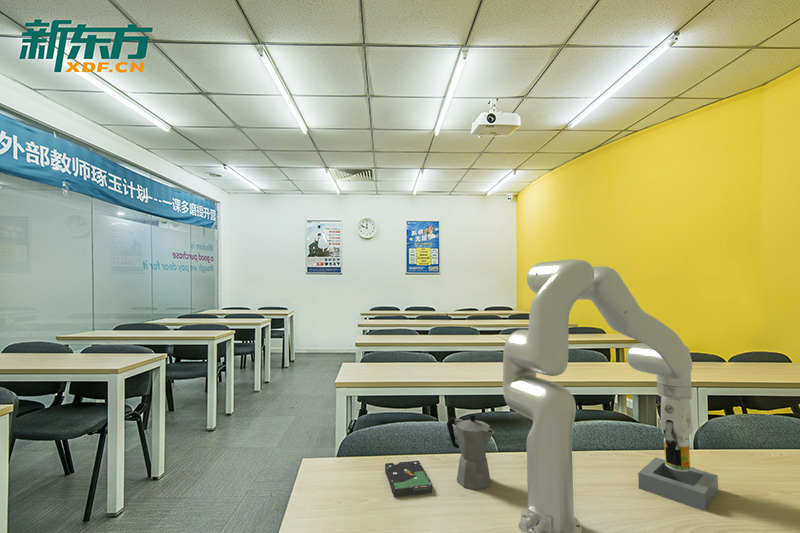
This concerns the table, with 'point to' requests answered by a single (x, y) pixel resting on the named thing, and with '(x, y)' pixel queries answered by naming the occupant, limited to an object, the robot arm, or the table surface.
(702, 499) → the gray rectangular open box
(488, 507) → the table surface
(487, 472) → the coffeepot
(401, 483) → the disk drive
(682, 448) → the supplement bottle
